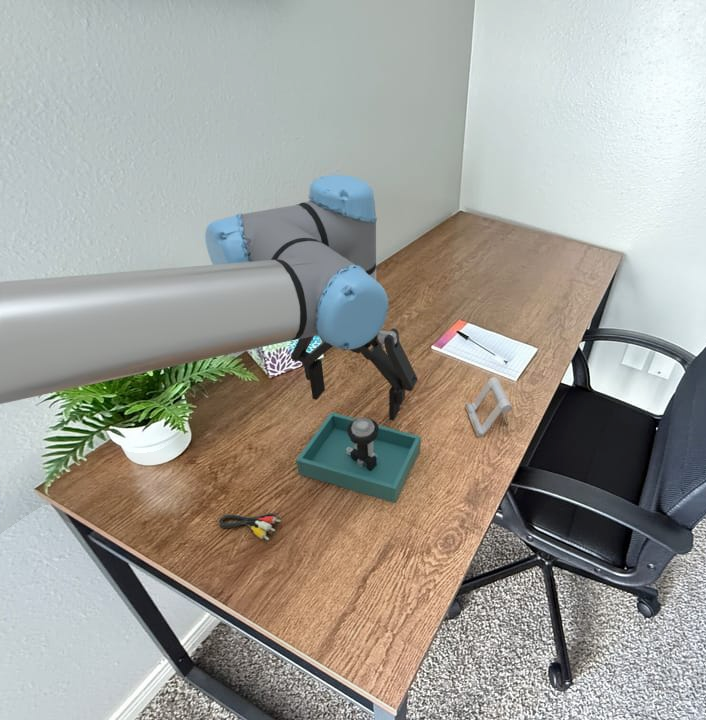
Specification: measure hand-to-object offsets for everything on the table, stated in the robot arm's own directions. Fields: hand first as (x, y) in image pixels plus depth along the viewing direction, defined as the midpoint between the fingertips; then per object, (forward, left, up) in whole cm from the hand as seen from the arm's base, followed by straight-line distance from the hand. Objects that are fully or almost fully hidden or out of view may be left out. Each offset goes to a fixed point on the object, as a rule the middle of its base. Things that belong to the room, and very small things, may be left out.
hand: (356, 404), depth 77 cm
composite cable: (-11, -17, -16) cm, 25 cm away
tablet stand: (+20, +19, -16) cm, 32 cm away
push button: (0, 0, -15) cm, 15 cm away
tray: (0, 0, -15) cm, 15 cm away
